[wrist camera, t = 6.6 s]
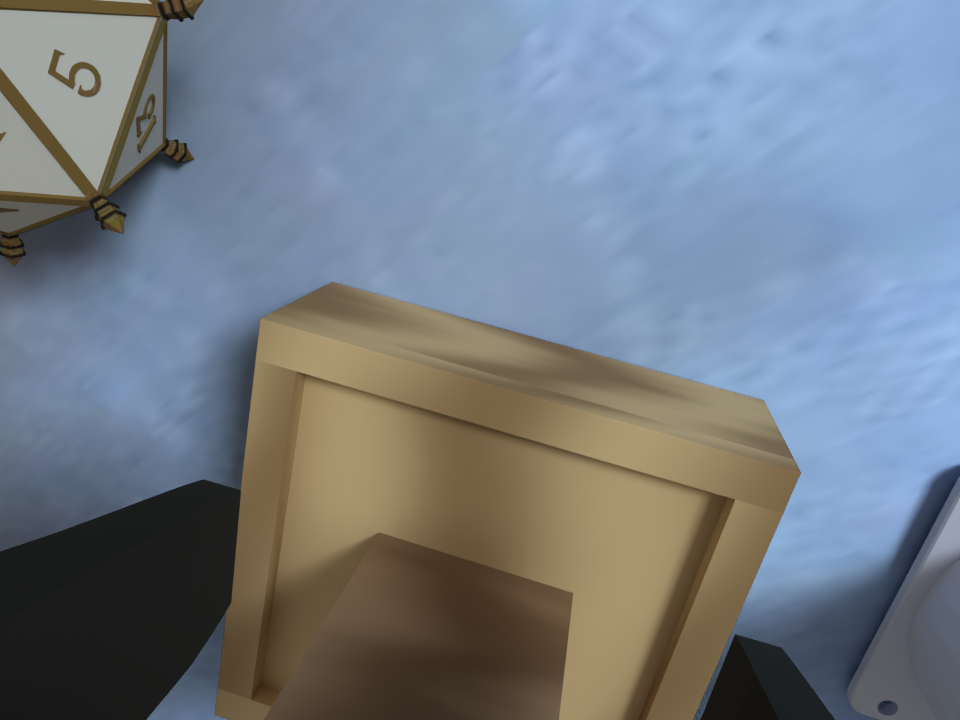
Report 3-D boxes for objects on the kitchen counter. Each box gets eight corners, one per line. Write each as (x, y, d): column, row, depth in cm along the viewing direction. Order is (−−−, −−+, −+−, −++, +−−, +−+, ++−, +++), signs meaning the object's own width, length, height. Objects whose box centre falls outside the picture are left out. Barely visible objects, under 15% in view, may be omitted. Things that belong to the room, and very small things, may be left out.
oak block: (764, 400, 18) (800, 472, 14) (629, 737, 22) (630, 862, 18) (332, 282, 19) (260, 318, 16) (281, 620, 24) (214, 714, 20)
